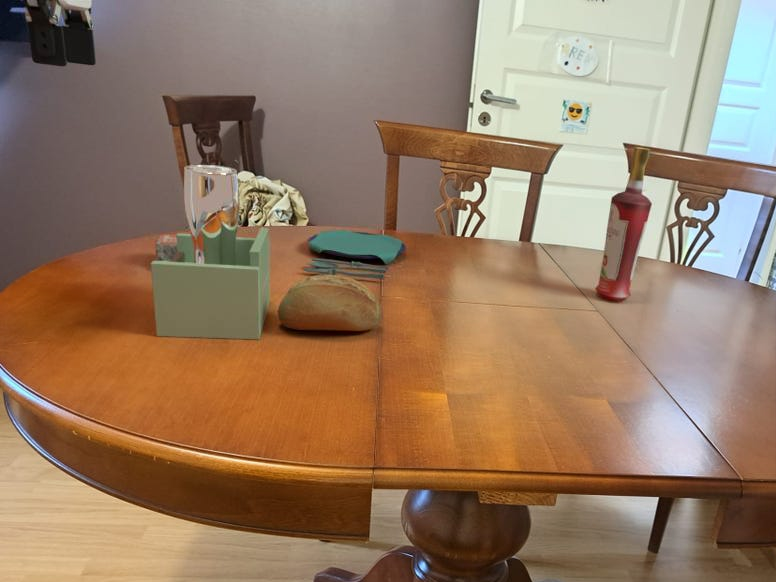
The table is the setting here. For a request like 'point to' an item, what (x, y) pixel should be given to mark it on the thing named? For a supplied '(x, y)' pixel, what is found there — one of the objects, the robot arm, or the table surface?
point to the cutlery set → (353, 251)
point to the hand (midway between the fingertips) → (66, 64)
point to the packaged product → (166, 247)
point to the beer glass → (212, 212)
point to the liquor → (624, 233)
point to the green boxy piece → (213, 292)
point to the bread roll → (330, 305)
